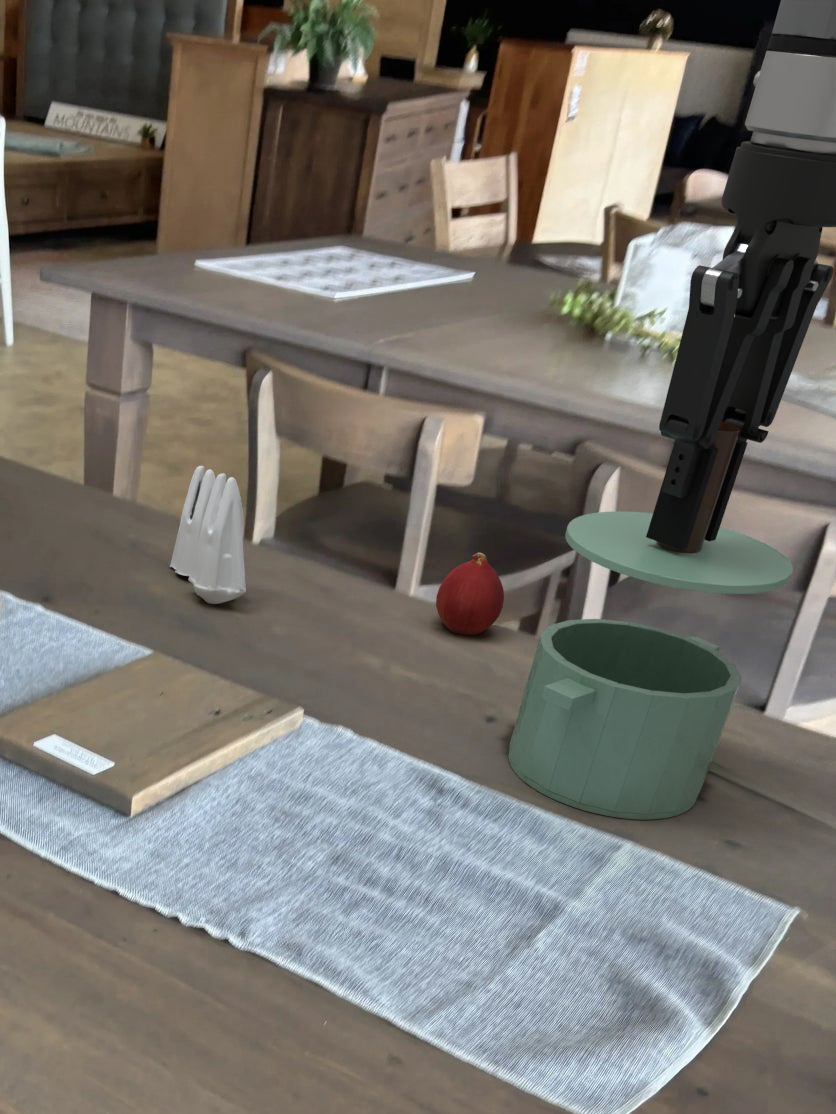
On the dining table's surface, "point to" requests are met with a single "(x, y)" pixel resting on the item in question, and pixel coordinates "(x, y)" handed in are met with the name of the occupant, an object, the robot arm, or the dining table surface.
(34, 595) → the dining table surface
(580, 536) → the lid
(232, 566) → the gray pronged block
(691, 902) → the dining table surface
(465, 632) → the onion
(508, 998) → the dining table surface
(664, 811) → the pot
